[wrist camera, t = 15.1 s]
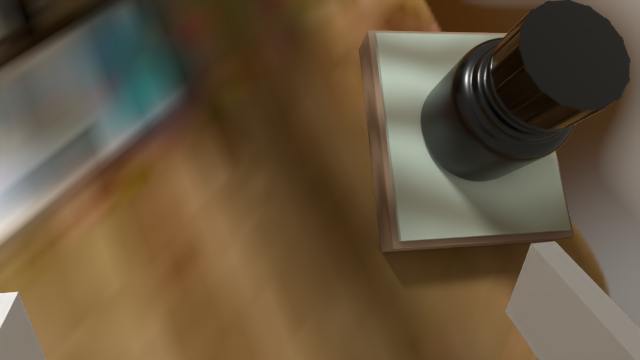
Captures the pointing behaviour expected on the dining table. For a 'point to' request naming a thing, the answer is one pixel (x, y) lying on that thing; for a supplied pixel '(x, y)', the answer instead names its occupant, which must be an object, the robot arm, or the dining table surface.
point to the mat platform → (427, 174)
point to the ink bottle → (524, 91)
